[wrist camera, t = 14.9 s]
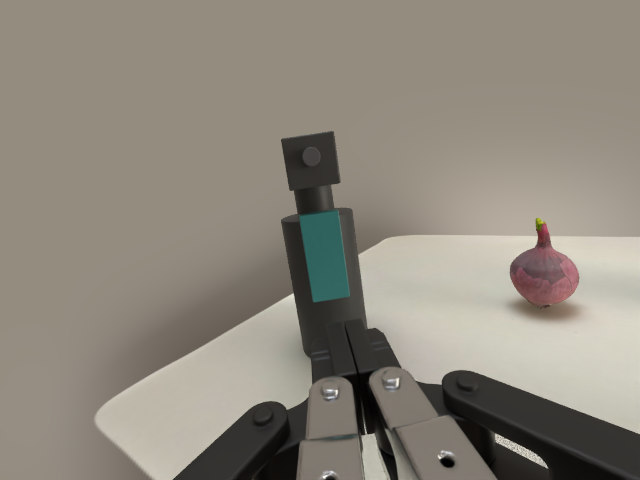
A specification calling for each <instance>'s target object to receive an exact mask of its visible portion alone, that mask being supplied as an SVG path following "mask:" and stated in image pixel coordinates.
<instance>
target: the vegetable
mask: <svg viewBox="0 0 640 480" xmlns="http://www.w3.org/2000/svg"><path fill="white" fill-rule="evenodd" d="M536 228H537V229H536V230H537V233H538V242H537V245H536V246H535V248H533V249H530V250H527V251H525V252H523V253H522V254H520V255H519V256H518V257H516V259H515V260H514V261H513V262H512V264H511V266H510V277H511V280H512V282H513V284H514V286H515V288H516V289H517V291H518V292H519V293H520V294H521V295H522V296H523V297H524V298H526V299H527V300H528V301H529V302H530V303H532V304H533V305H535V306H538V307H540V306H541V308H542V307H544V308H546V307H549V304H554V303H558V302H561V301H564V300H566V299H567V298H568V297H570V296H571V295H572V294H573V293H574V292H575V290H576V288H577V286H578V283H579V273H578V270H577V268H576V266H575V264H574V263H573V262H572V261H571V260H570V259H569V258H568V257H567V256H565V255H563V254H561V253H559V252H557V251H555V250H554V249H553V248H552V246H551V241H550V236H549V232H548V229H547V226H546V223H545V222H542V221H541V219H540V218H536ZM541 308H540V309H541Z"/></svg>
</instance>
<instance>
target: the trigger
mask: <svg viewBox="0 0 640 480" xmlns="http://www.w3.org/2000/svg"><path fill="white" fill-rule="evenodd" d="M299 220H300V226H301V233H302V239H303V245H304V251H305V257H306V263H307V269H308V275H309V281H310V287H311V293H312V299H313V302H319V301H325V300H332V299H338V298H344V297H349V296H350V292H349V284H348V277H347V270H346V262H345V255H344V248H343V241H342V233H341V226H340V219H339V211H338V210H337V209H330V210H324V211H317V212H311V213H304V214H300V215H299Z"/></svg>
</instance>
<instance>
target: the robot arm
mask: <svg viewBox="0 0 640 480" xmlns="http://www.w3.org/2000/svg"><path fill="white" fill-rule="evenodd" d="M344 327H345V328H344ZM326 328H327V335H328V336H324V337H318V338H315V339H314V341H313V342H312V344H311V365H312V386H311V388H310V390H309V397H308V398H307V399H306V400H305V401H304V402H302V403H301V404H299V405H297V406H295V407H293V408H291V409H288V410H286V408H285V407H284V406H283V405H282V404H281V403H278V402H273V401H269V402H263V403H260V404H257V405H255V406H254V407H252V408H251V409H249V410H248V411H247V412H246V413H245V414H244V415H243V416H241V417H240V418H239V419H238V420H237V421H236V422H235V423H234V424H233V425H232V426H231V427H229V428H228V429H227V430H226V431H225V432H224V433H223V434H222V435H221V436H220V437H219V438H217V439H216V440H215V441H214V442H213V443H212V444H211V445H210V446H209V447H208V448H207V449H205V450H204V451H203V452H202V453H201V454H200V455H199V456H198V457H197V458H196V459H195V460H193V461H192V462H191V463H190V464H189V465H188V466H187V467H186V468H185V469H184V470H183V471H181V472H180V473H179V474H178V475H177V476H176V477H175V478H174V479H173V480H365V475H364V467H363V459H362V451H363V445H362V437H361V436H362V435H365V428H364V423H365V427H366V431H367V434H372V433H375V436H376V440H377V447H378V454H379V458H380V461H381V463H382V466H383V469H384V472H385V474H386V477H387V480H640V434H638V433H635V432H632V431H630V430H627V429H624V428H622V427H619V426H616V425H614V424H611V423H608V422H606V421H603V420H600V419H598V418H595V417H592V416H590V415H587V414H584V413H582V412H579V411H576V410H574V409H571V408H568V407H566V406H563V405H560V404H558V403H555V402H552V401H550V400H547V399H544V398H542V397H539V396H536V395H534V394H531V393H529V392H526V391H523V390H521V389H518V388H515V387H513V386H510V385H507V384H505V383H502V382H499V381H497V380H494V379H491V378H489V377H486V376H483V375H481V374H478V373H475V372H471V371H465V370H458V371H453V372H450V373H448V374H446V375H445V376H444V377H443V379H442V385H438V384H426V383H420V382H417V381H415V380H414V378H413V377H412V375H411V374H410V373H409V372H408V371H406V370H404V369H402V368H401V366H400V364H399V362H398V360H397V358H396V356H395V354H394V352H393V350H392V349H391V347H390V345H389V343H388V341H387V339H386V337H385V335H384V333H382V332H381V331H379V330H378V329H376V328H373V329H367V330H366V329H365V327H364V324H363V322H362V320H361V318H360V319H354V320H348V321H344V324H343V321H342V322H336V323H330V324H326ZM363 419H364V421H363ZM495 433H496V434H498V435H500V436H502V437H504V438H506V439H508V440H510V441H512V442H514V443H516V444H518V445H521V446H523V447H525V448H527V449H529V450H531V451H532V452H534V453H536V454H537V455H538V456H540V457H541V458H542V459H543V460H544V462H545V463H546V465H547V466H548V469H547V468H545V467H543V466H541V465H539V464H537V463H535V462H533V461H531V460H529V459H527V458H525V457H523V456H521V455H520V454H518V453H516V452H514V451H512V450H510V449H508V448H506V447H504V446H502V445H500V444H498V443H496V442H495Z"/></svg>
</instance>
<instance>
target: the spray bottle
mask: <svg viewBox="0 0 640 480" xmlns="http://www.w3.org/2000/svg"><path fill="white" fill-rule="evenodd" d="M281 142H282V148H283V154H284V160H285V165H286V172H287V177H288V184H289V189H290V191H292V190H294V195H295V200H296V207H297V213H298V214H295V215H291V216H288V217H285V218H283V219H282V220H281V223H282V229H283V235H284V239H285V246H286V252H287V257H288V263H289V268H290V274H291V280H292V286H293V291H294V297H295V302H296V308H297V314H298V319H299V325H300V331H301V336H302V342H303V348H304V351H305V353H306V355H307V356H308V357H310V358H311V344H312V342H313V341H314V339H315V338H318V337H324V336H328V335H327V328H326V324H330V323H336V322H342V321H343V324H344V321H348V320H354V319H360V318H361V320H362V322H363V324H364V327H365V329H366V330H367V322H366V314H365V306H364V298H363V290H362V283H361V275H360V267H359V259H358V251H357V243H356V235H355V228H354V220H353V212H352V209H350V208H334V203H333V196H332V189H331V184H338V183H340V174H339V166H338V159H337V151H336V144H335V136H334V131H330V132H323V133H317V134H310V135H303V136H296V137H290V138H283V139H281ZM330 209H337V210H338V211H339V219H340V226H341V233H342V241H343V248H344V255H345V262H346V270H347V277H348V284H349V292H350V296H349V297H344V298H338V299H332V300H325V301H319V302H313V299H312V293H311V287H310V281H309V275H308V269H307V263H306V257H305V251H304V245H303V239H302V233H301V226H300V220H299V215H300V214H304V213H311V212H317V211H324V210H330ZM344 328H345V327H344Z"/></svg>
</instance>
